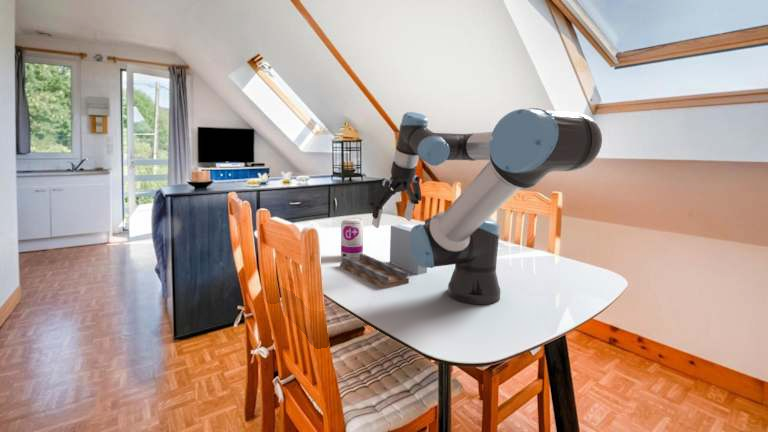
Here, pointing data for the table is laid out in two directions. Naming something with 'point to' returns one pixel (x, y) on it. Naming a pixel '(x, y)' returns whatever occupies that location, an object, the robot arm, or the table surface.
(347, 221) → the supplement can
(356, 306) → the table surface
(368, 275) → the floor track
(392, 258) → the sliding panel
